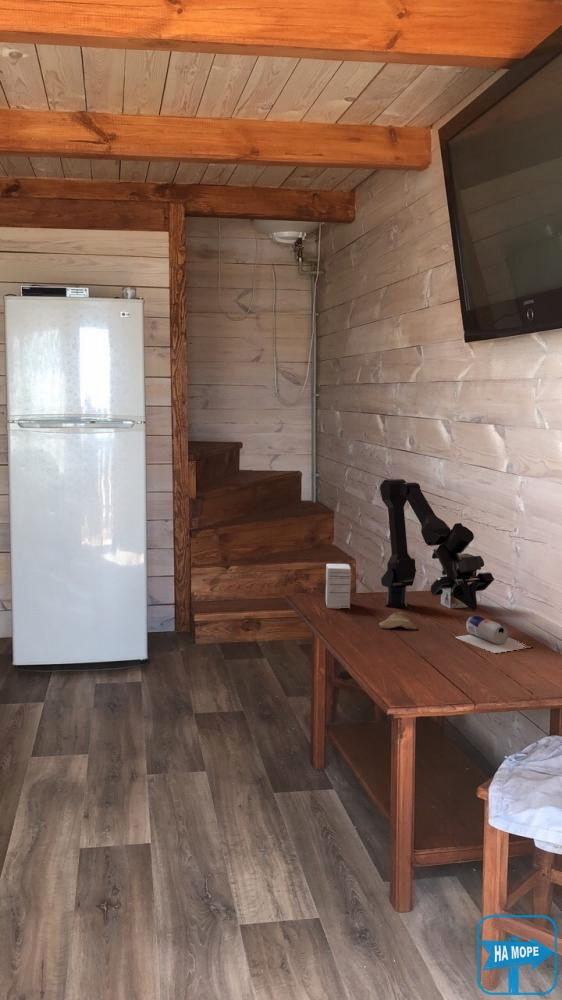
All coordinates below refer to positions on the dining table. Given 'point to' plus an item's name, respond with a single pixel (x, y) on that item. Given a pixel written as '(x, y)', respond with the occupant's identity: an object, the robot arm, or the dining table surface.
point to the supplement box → (338, 585)
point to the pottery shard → (398, 621)
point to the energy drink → (487, 629)
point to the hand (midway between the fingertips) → (475, 609)
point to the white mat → (492, 644)
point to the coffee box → (445, 597)
